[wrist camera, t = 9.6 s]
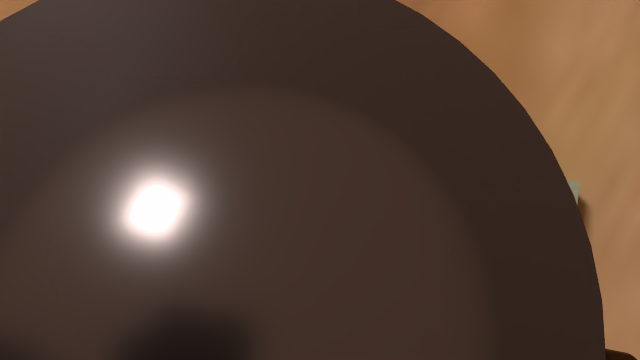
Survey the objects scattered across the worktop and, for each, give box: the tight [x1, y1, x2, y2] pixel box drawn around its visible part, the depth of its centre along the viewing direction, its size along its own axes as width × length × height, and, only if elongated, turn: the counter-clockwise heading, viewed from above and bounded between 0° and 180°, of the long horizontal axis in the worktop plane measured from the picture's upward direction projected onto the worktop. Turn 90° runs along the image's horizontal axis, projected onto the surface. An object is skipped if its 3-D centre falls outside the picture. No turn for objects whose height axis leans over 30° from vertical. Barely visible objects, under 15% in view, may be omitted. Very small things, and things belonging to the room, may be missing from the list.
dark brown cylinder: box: [0, 0, 606, 360], centre depth 10 cm, size 5×5×13 cm
